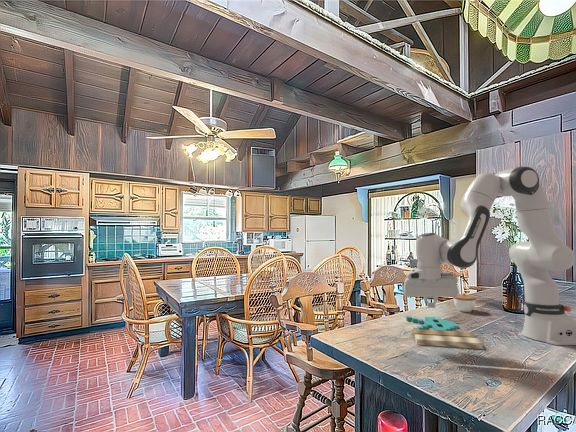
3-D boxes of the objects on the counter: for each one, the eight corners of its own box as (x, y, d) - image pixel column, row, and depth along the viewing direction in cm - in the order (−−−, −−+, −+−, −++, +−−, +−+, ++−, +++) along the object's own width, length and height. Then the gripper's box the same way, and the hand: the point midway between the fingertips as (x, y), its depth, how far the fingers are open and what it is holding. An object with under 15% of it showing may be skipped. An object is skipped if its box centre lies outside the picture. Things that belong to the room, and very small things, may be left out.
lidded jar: (469, 314, 163) (468, 296, 163) (449, 310, 172) (449, 292, 173) (480, 311, 168) (479, 293, 169) (461, 307, 178) (460, 290, 178)
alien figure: (414, 334, 137) (463, 336, 133) (414, 329, 137) (463, 331, 133) (406, 320, 157) (449, 322, 153) (406, 316, 157) (449, 317, 153)
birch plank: (477, 343, 122) (477, 337, 122) (482, 348, 117) (482, 343, 117) (414, 339, 128) (414, 334, 128) (416, 344, 122) (416, 339, 123)
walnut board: (471, 337, 129) (471, 332, 129) (477, 342, 123) (476, 337, 123) (412, 333, 135) (412, 328, 135) (414, 338, 129) (414, 333, 129)
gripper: (454, 271, 127) (457, 305, 127) (401, 272, 132) (404, 305, 132) (459, 274, 121) (461, 309, 121) (403, 274, 126) (405, 309, 126)
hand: (431, 307), depth 126 cm, fingers closed
